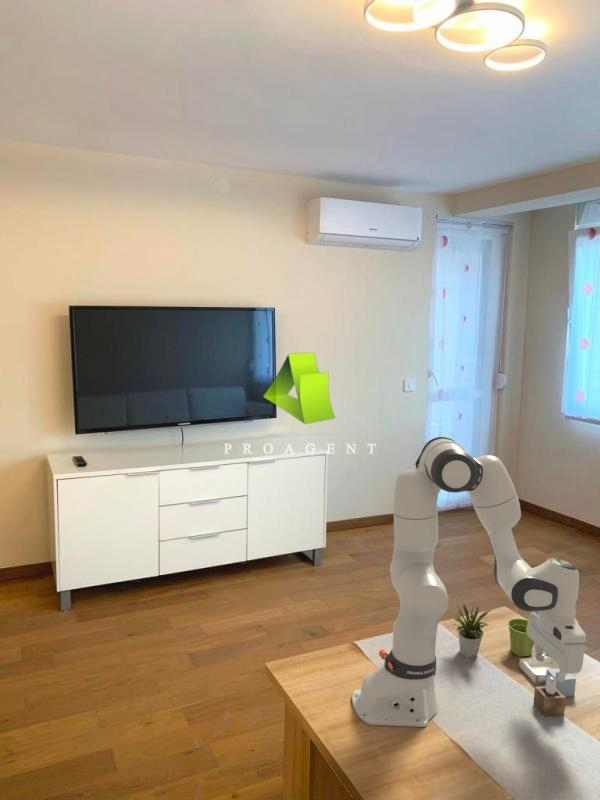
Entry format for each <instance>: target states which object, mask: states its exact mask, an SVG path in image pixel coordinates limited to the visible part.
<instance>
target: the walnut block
mask: <svg viewBox="0 0 600 800" xmlns="http://www.w3.org/2000/svg"><path fill="white" fill-rule="evenodd" d="M545 692H546V686H545V685H539V686H534V695H533V706H534V707H536V709H537V710H538V711H539V712H540V713H541V714H542V715H543V716H544V718H547V716H549V717H557V716H559V715H560V716H564V715H565V710H566V699H567V698H566V697H567V696H564V695H563V694H562V693H561V692H560V691H559V690H558V689H557V688H556V692H555V696H549V697H548V696H547V695H546V694H545Z"/></svg>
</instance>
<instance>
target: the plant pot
mask: <svg viewBox="0 0 600 800" xmlns="http://www.w3.org/2000/svg"><path fill="white" fill-rule="evenodd" d="M527 623H528V619H525V618H511V619H509V620H508V621H507V626H508V629H509V642H510V651H511V652H512V653H513V654H514V655H516V656H519V657H523V658H525V657H526V656H527V657H531V655H532V653H533V649H534V642H533V641H532V640H531V639H530V638H529V637H528V636H527V632H526V628H527Z"/></svg>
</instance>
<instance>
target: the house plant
mask: <svg viewBox="0 0 600 800" xmlns="http://www.w3.org/2000/svg"><path fill="white" fill-rule="evenodd" d="M449 601H450V602H452V603H453V604H454V605H455V607H456V608H457V610H458V611H457V610H455V611H450V613H453V614H455V613H456V616H454V617H453V620H455V621H456V622H459V624H461V625H458V626H457V624H455V623H453V625H455V626H457V627H456V632H457V633H458V643H459V653H460V652H461V653H460V654H461V655H462V654H463V655H462V656H464V655H465V656H464V657H466V656H468V657H467V658H476V657H478V654H479V650H480V645H481V642H482V639H483V636H484V635H485V633H484V631H483V630H482V629H483V628H484V627H487V626H488V625H489V623H487V622H484V621H483V622H482V621H481V620H482V619H488V616H487V615H488V613H490V612H492V611H493V610H494V608H490V609H488V610H485V611H484V612H483V613H482V614H481V615H480V616H478V614H479V611H480V608H479V607H480V604H479V603H478V605H477V606H476V609H475V611H474V612H473V610H474V607H475V605H476V604H477V602H475V603H474V604H473V606H472V609H471V612H470V614H469V611H468V609H467V605H466V604H465V602H464V601H463V600H461V601H460V603H461V605H462V607H463V611H464V613H465V617H466V618H465V617H464V614H463V612H462V610H461V609H460V607H459V605H458V604H457V603H456V602H455V601H453V600H450V599H449ZM477 616H478V618H477ZM485 616H486V617H485ZM462 619H463V620H462ZM476 619H477V620H476ZM475 656H476V657H475Z"/></svg>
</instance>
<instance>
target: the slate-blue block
mask: <svg viewBox="0 0 600 800" xmlns="http://www.w3.org/2000/svg"><path fill="white" fill-rule="evenodd" d="M559 671H560V669H559V668H555V669H547V670H546V681H547V676H549V675H550V676H554V677H555V676H556V672H559ZM546 681H545V683H544V686H546ZM576 684H577V678H576V677H575V676H574V674H567V675H566V676H565V681H564V682H559V681H558V680H557V681H556V688H557V689H558V690H559V691H560V692H561V693H562V694H563V695H564V696H565V697H575V692H576Z"/></svg>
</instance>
